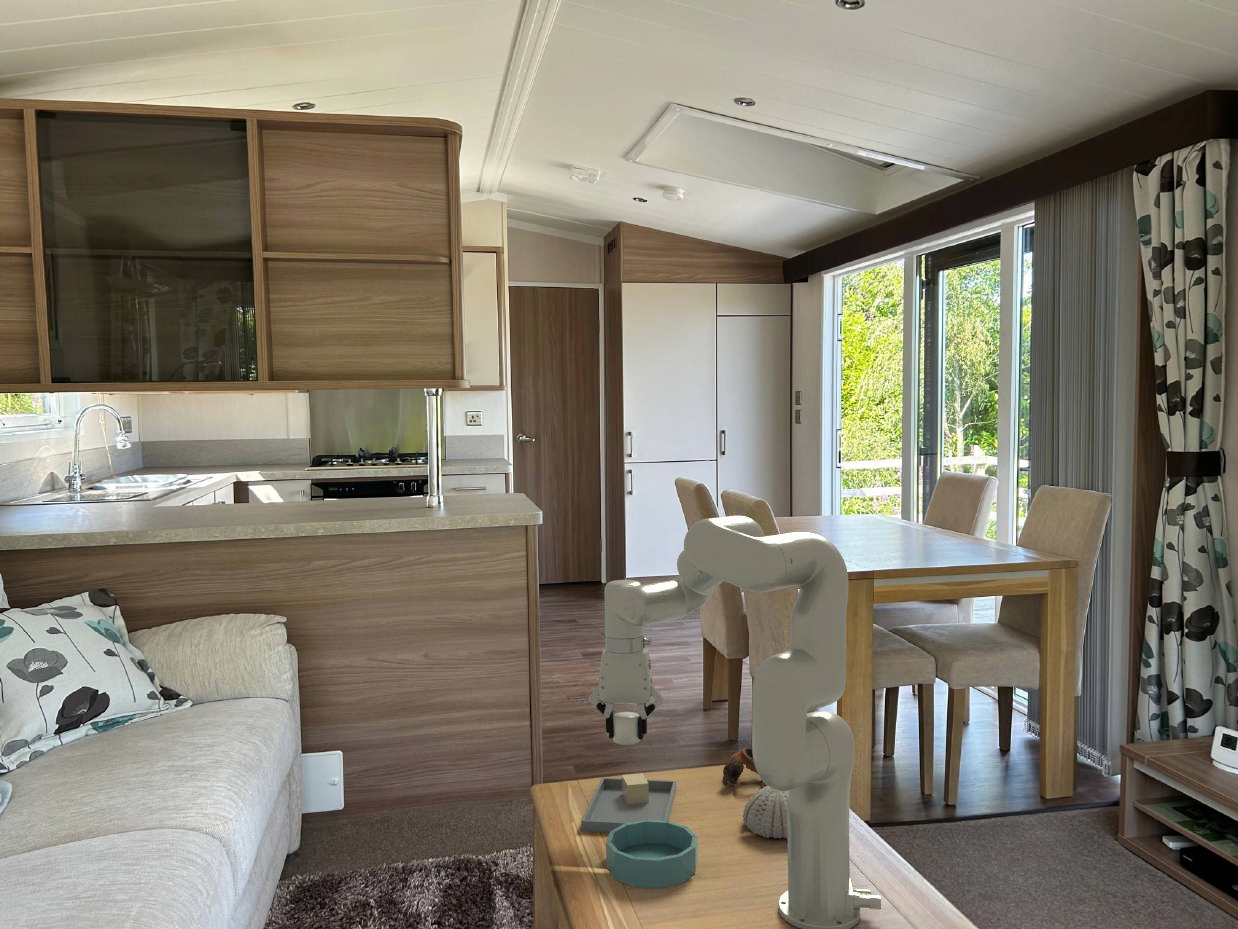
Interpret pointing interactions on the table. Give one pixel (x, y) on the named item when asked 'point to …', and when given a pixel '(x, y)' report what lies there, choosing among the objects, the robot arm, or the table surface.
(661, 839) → the bowl
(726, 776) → the brown animal figurine
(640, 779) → the sand stone
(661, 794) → the parts tray
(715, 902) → the table surface
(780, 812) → the sea urchin shell
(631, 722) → the pale stone
